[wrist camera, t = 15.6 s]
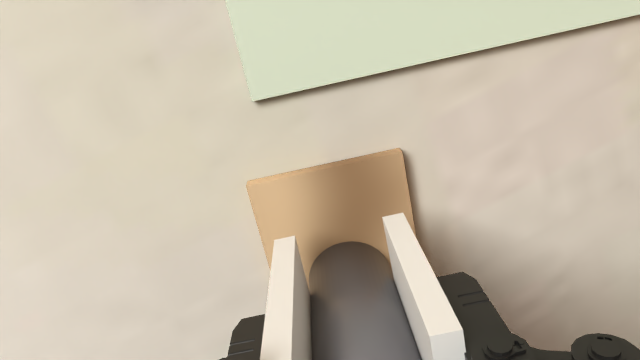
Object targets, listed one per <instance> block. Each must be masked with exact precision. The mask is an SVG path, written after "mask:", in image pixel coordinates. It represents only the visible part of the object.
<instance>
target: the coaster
mask: <svg viewBox="0 0 640 360" xmlns="http://www.w3.org/2000/svg"><path fill="white" fill-rule="evenodd" d="M246 188H247V191H248V195H249V198H250V202H251V205H252V209H253V212H254V216H255V219H256V223H257V226H258V229H259V233H260V236H261V240H262V243H263V247H264V250H265V254H266V257H267V261H268V264H269V268H270V271H271V263H272V255H273V247H274V240H276V239H281V238H286V237H290V236H295V238H296V242H297V245H298V249H299V253H300V257H301V261H302V265H303V268H304V272H305V276H306V280H307V284H308V288H309V272H310V269H311V266H312V264H313V262H314V261H315V259H316V258H317V257H318V256H319V255H320V254H321V253H322V252H323V251H324V250H326V249H327V248H329V247H331V246H333V245H335V244H338V243H342V242H348V241H355V242H362V243H366V244H369V245H371V246H373V247H375V248H376V249H378V250H379V251H380V252H381V253H382V254H383V255H384V256H385V257H386V259H387V261H388V262H389V265H390V267H391V262H390V256H389V251H388V246H387V240H386V235H385V230H384V224H383V219H382V217H384V216H389V215H394V214H398V213H404V215H405V217H406V219H407V221H408V223H409V225H410V227H411V229H412V231H413V233H414V235H415V237H416V232H415V226H414V220H413V214H412V208H411V202H410V196H409V190H408V183H407V177H406V171H405V165H404V159H403V153H402V151H401V150H400V148H396V149H392V150H387V151H382V152H378V153H373V154H369V155H364V156H360V157H355V158H351V159H346V160H341V161H337V162H332V163H328V164H323V165H319V166H314V167H310V168H305V169H300V170H296V171H291V172H287V173H282V174H278V175H273V176H268V177H264V178H259V179H255V180H250V181H248V182H247V185H246ZM416 239H417V238H416ZM391 270H392V267H391ZM392 273H393V272H392Z"/></svg>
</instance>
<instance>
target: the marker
mask: <svg viewBox="0 0 640 360" xmlns="http://www.w3.org/2000/svg"><path fill="white" fill-rule="evenodd" d="M309 291H310V300H311V334H312V360H422V359H421V356H420V353H419V350H418V347H417V344H416V341H415V339H414V336H413V333H412V330H411V327H410V324H409V321H408V319H407V316H406V313H405V310H404V307H403V304H402V302H401V299H400V296H399V293H398V290H397V287H396V285H395V282H394V278H393V273H392V270H391V267H390V265H389V262H388V261H387V259H386V257H385V256H384V255H383V254H382V253H381V252H380V251H379V250H378V249H376V248H375V247H373V246H371V245H369V244H366V243H362V242H355V241H348V242H342V243H338V244H335V245H333V246H331V247H329V248H327V249H326V250H324V251H323V252H322V253H321V254H320V255H319V256H318V257H317V258H316V259H315V261H314V262H313V264H312V266H311V269H310V272H309Z"/></svg>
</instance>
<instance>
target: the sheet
mask: <svg viewBox="0 0 640 360" xmlns="http://www.w3.org/2000/svg"><path fill="white" fill-rule="evenodd" d="M225 2H226V6H227V10H228V14H229V17H230V21H231V25H232V29H233V32H234V36H235V40H236V44H237V47H238V51H239V55H240V59H241V62H242V66H243V70H244V74H245V77H246V81H247V85H248V89H249V92H250V96H251V100H252V101H257V100H261V99H266V98H270V97H275V96H279V95H284V94H288V93H292V92H297V91H301V90H306V89H310V88H315V87H319V86H324V85H328V84H332V83H337V82H341V81H346V80H350V79H355V78H359V77H364V76H368V75H372V74H377V73H381V72H386V71H390V70H395V69H399V68H404V67H408V66H412V65H417V64H421V63H426V62H430V61H435V60H439V59H444V58H448V57H452V56H457V55H461V54H466V53H470V52H475V51H479V50H484V49H488V48H492V47H497V46H501V45H506V44H510V43H515V42H519V41H524V40H528V39H532V38H537V37H541V36H546V35H550V34H555V33H559V32H564V31H568V30H573V29H577V28H581V27H586V26H590V25H595V24H599V23H604V22H608V21H613V20H617V19H621V18H626V17H630V16H635V15H639V14H640V0H225Z"/></svg>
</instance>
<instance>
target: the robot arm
mask: <svg viewBox="0 0 640 360" xmlns="http://www.w3.org/2000/svg"><path fill="white" fill-rule="evenodd" d="M382 219H383V224H384V230H385V235H386V240H387V246H388V251H389V256H390V262H391V267H392V272H393V278H394V282H395V285H396V287H397V290H398V293H399V296H400V299H401V302H402V304H403V307H404V310H405V313H406V316H407V319H408V321H409V324H410V327H411V330H412V333H413V336H414V339H415V341H416V344H417V347H418V350H419V353H420V356H421V359H422V360H640V350H639V349H638V348H637V347H635V346H634V345H632V344H631V343H629V342H628V341H626V340H625V339H622V338H619V337H616V336H613V335H608V334H599V333H596V334H588V335H584V336H582V337H580V338H578V339H576V340H575V342H574V343H573V344H572V345H571V352H566V351H547V350H540V349H536V348H532V347H530V346H529V345H528V343H527V342H526V341H525V340H524V339H522V338H520V337H519V336H517V335H515V334H511V332H510V331H509V329H508V328H507V326H506V325H505V323H504V322H503V320H502V318H501V317H500V315H499V314H498V312H497V311H496V309H495V308H494V306H493V305H492V303H491V302H490V301H489V299H488V297H487V296H486V294H485V293H484V292H483V290H482V288H481V286H480V285H479V283H478V282H477V280H476V279H474V278H472V277H471V276H469V275H467V274H466V273H464V272H460V273H455V274H451V275H446V276H441V277H436V276H435V274H434V272H433V270H432V268H431V266H430V264H429V262H428V260H427V258H426V256H425V254H424V252H423V250H422V249H421V247H420V245H419V243H418V241H417V239H416V237H415V235H414V233H413V231H412V229H411V227H410V225H409V223H408V221H407V219H406V217H405V215H404V213H398V214H394V215H389V216H384V217H382ZM219 360H312V334H311V300H310V291H309V288H308V284H307V280H306V276H305V272H304V268H303V265H302V261H301V257H300V253H299V249H298V245H297V242H296V238H295V236H290V237H286V238H281V239H276V240H274V247H273V255H272V263H271V272H270V280H269V288H268V296H267V305H266V313H265V314H263V315H259V316H254V317H249V318H244V319H241V321H240V322H239V323H238V325H237V326H236V327H235V329H234V330H233V332H232V337H231V342H230V346H229V351H228V356H227V357H226V358H222V359H219Z"/></svg>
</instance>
